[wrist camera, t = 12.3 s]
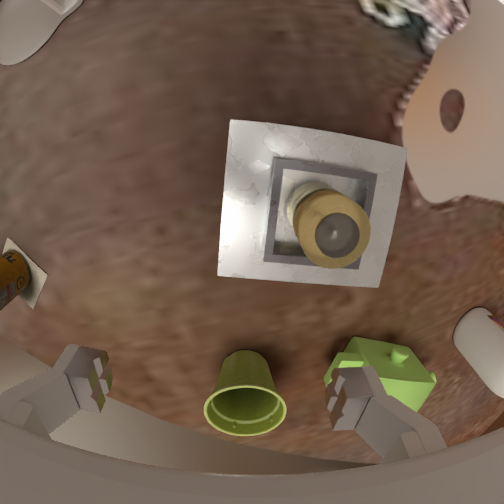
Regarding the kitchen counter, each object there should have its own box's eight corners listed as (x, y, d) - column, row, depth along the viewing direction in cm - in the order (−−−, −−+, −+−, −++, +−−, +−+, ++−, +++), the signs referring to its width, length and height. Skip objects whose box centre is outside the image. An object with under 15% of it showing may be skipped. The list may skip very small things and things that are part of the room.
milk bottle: (450, 353, 42) (511, 439, 23) (451, 318, 39) (526, 406, 20) (485, 334, 41) (550, 409, 22) (488, 298, 38) (566, 372, 20)
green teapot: (433, 340, 41) (465, 376, 32) (402, 389, 44) (426, 428, 35) (337, 319, 39) (362, 364, 30) (307, 377, 41) (321, 426, 32)
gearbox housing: (233, 122, 30) (228, 117, 22) (382, 145, 31) (420, 150, 23) (221, 252, 35) (215, 288, 27) (359, 264, 36) (387, 299, 28)
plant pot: (209, 336, 39) (202, 384, 31) (283, 339, 39) (291, 387, 31) (210, 387, 42) (205, 434, 34) (276, 390, 42) (281, 436, 34)
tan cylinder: (290, 178, 26) (307, 194, 19) (346, 185, 26) (379, 204, 19) (283, 234, 28) (295, 268, 21) (336, 239, 28) (364, 274, 21)
